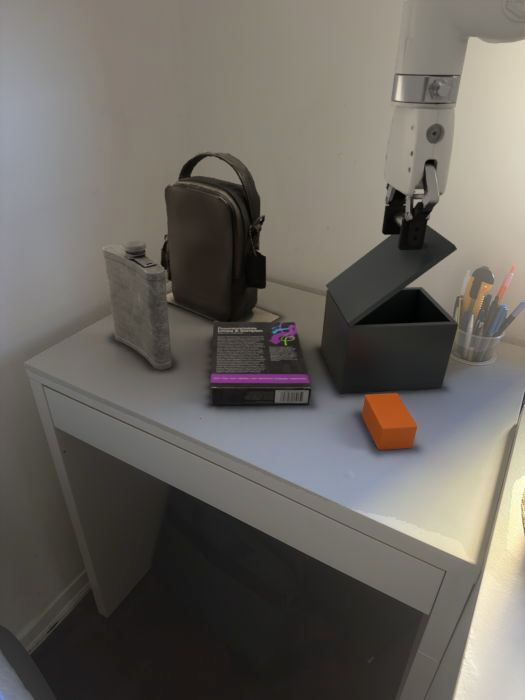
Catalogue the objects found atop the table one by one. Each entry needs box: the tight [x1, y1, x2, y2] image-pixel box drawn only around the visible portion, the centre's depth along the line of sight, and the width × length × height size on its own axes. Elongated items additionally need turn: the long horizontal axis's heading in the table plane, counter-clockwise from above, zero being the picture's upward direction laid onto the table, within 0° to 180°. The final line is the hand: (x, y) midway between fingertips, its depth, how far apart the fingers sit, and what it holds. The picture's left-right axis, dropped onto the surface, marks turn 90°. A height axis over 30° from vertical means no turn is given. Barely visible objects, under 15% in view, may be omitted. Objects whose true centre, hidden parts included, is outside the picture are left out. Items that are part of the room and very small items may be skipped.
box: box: [209, 320, 312, 405], centre depth 77 cm, size 14×4×20 cm
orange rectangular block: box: [361, 392, 418, 451], centre depth 64 cm, size 7×4×4 cm, turn 7°
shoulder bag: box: [159, 150, 280, 322], centre depth 88 cm, size 23×9×28 cm, turn 53°
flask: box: [102, 239, 173, 371], centre depth 77 cm, size 4×14×18 cm, turn 44°
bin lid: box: [325, 211, 458, 327], centre depth 69 cm, size 16×13×5 cm
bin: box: [320, 286, 459, 394], centre depth 76 cm, size 16×13×11 cm
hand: (401, 240), depth 68 cm, fingers closed on bin lid, 5 cm apart
